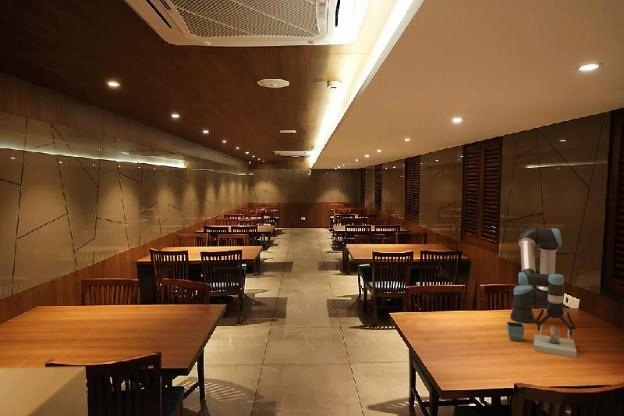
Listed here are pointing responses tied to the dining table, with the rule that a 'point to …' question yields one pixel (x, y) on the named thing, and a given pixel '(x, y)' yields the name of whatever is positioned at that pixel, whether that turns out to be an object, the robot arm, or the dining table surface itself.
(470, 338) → the dining table surface
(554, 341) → the peg
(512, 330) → the flower pot
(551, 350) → the board
